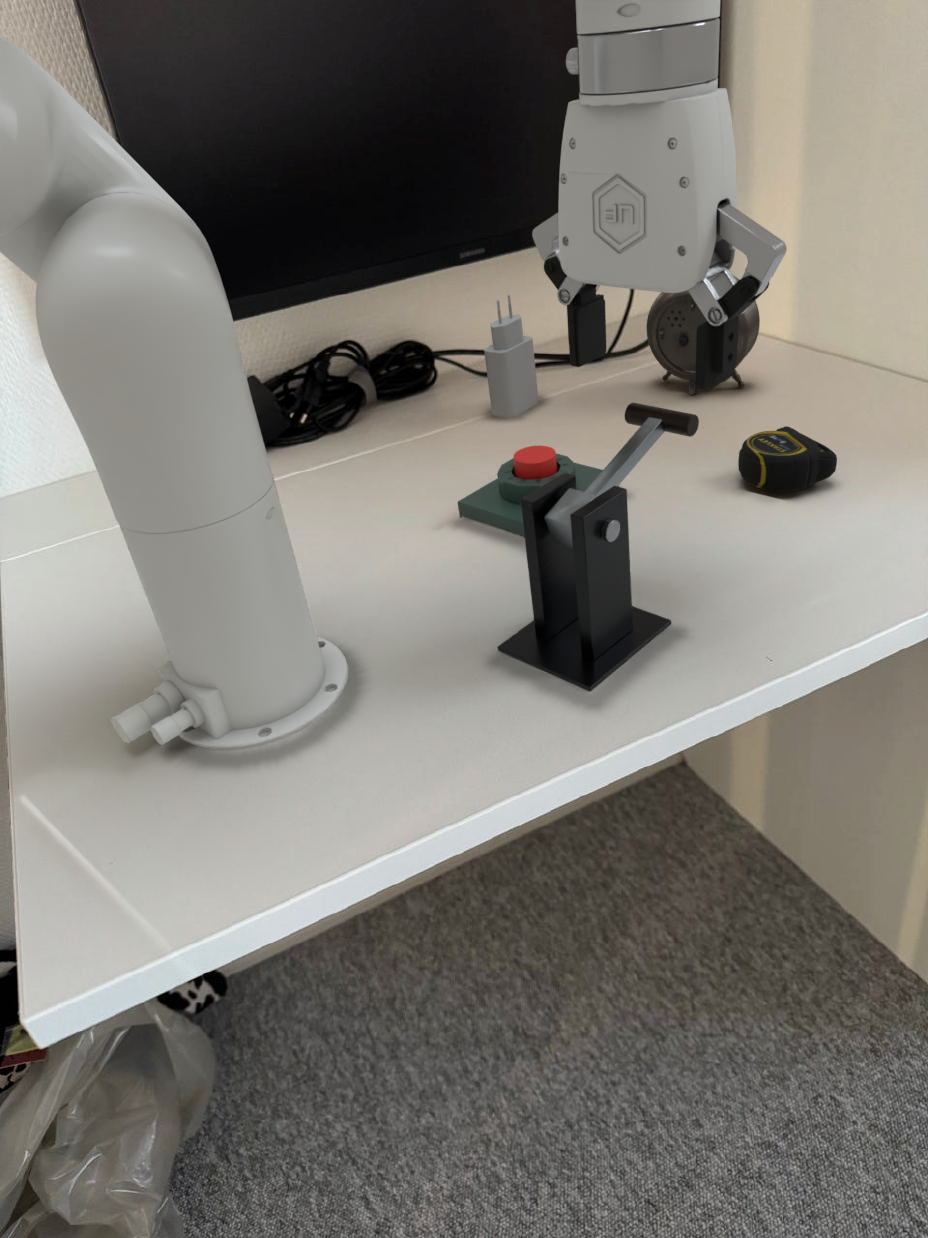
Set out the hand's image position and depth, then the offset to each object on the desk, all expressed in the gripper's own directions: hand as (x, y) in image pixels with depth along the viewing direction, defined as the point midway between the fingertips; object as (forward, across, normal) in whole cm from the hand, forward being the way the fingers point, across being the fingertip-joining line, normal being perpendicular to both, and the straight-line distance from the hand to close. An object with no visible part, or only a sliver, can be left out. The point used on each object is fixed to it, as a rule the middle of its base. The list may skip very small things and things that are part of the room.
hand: (648, 371), depth 61 cm
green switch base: (+17, -16, +6) cm, 24 cm away
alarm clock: (+16, -18, +36) cm, 43 cm away
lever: (+6, 0, -4) cm, 7 cm away
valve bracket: (+17, 0, -8) cm, 19 cm away
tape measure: (+16, 0, +21) cm, 26 cm away
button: (+13, -16, +6) cm, 21 cm away
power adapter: (+17, -34, +23) cm, 44 cm away
